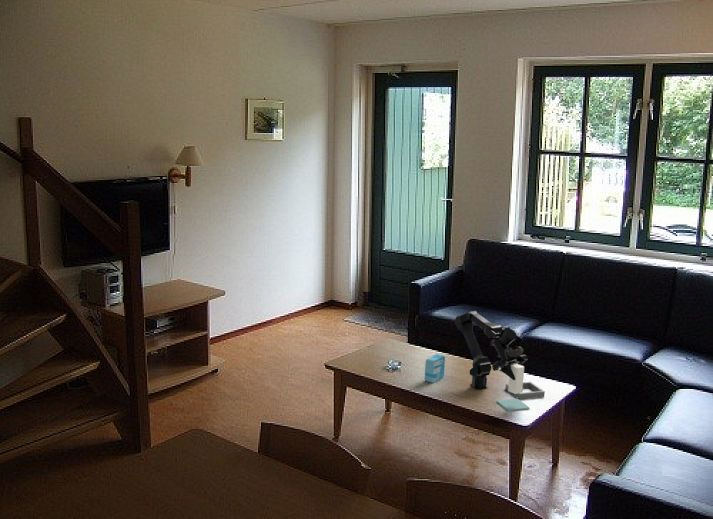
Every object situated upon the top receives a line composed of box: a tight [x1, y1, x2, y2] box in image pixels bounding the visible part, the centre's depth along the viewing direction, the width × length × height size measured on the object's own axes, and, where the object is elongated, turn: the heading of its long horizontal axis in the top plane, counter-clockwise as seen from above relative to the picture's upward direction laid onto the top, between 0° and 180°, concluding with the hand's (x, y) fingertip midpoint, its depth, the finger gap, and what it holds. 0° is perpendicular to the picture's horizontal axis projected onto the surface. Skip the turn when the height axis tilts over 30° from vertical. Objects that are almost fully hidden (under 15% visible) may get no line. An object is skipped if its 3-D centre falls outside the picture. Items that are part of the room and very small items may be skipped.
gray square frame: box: [505, 381, 546, 400], centre depth 343 cm, size 14×13×2 cm
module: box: [507, 364, 525, 394], centre depth 325 cm, size 4×4×12 cm
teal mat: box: [496, 398, 530, 412], centre depth 327 cm, size 11×11×1 cm
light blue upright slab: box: [424, 354, 446, 384], centre depth 355 cm, size 12×4×12 cm, turn 142°
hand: (518, 379), depth 323 cm, fingers closed on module, 4 cm apart
